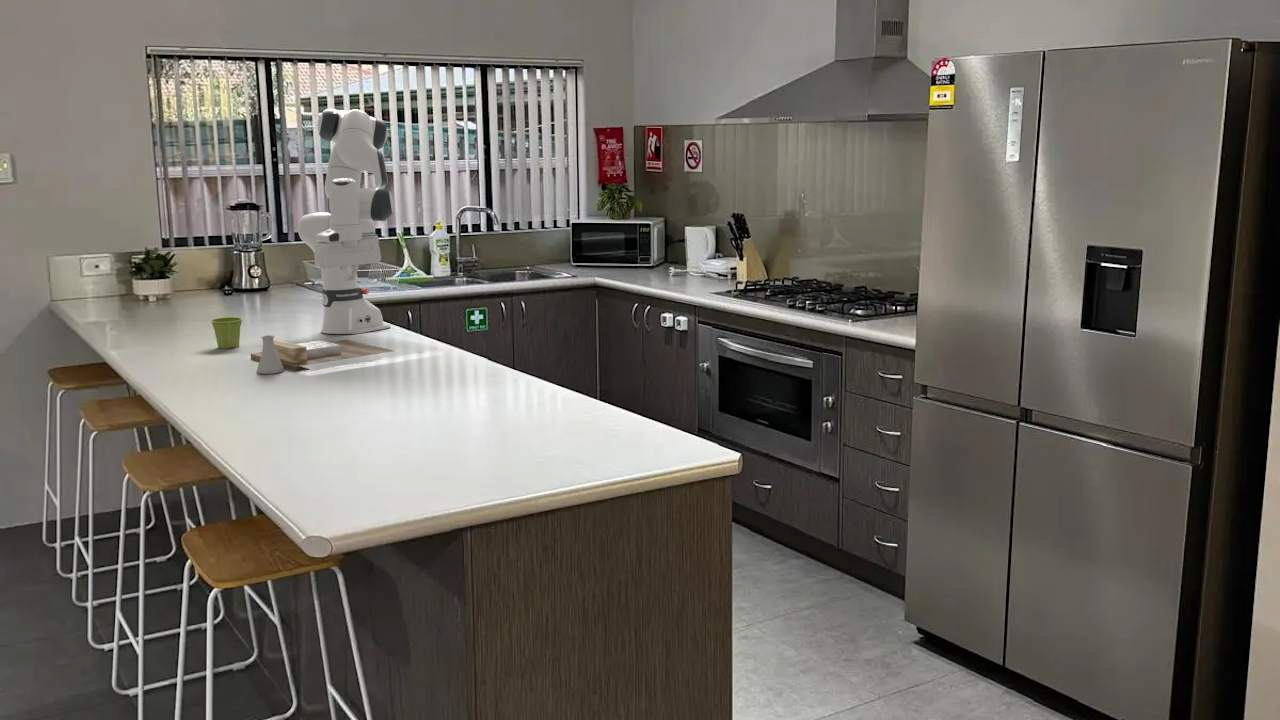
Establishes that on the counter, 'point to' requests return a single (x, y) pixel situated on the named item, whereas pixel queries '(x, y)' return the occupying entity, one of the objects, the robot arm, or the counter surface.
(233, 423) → the counter surface
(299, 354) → the bar
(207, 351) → the counter surface
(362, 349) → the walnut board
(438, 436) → the counter surface
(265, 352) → the flask
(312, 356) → the aluminium plate
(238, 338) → the plant pot
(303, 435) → the counter surface
